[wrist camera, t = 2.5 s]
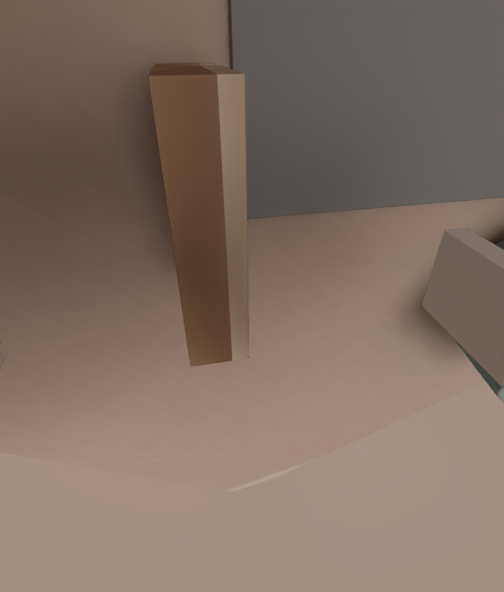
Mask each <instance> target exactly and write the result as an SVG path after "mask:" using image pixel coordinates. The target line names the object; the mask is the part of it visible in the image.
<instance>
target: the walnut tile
mask: <svg viewBox="0 0 504 592" xmlns="http://www.w3.org/2000/svg"><path fill="white" fill-rule="evenodd" d="M148 78H149V85H150V92H151V98H152V105H153V112H154V119H155V126H156V133H157V140H158V147H159V153H160V160H161V167H162V174H163V181H164V188H165V195H166V202H167V208H168V215H169V222H170V229H171V236H172V243H173V250H174V257H175V263H176V270H177V277H178V284H179V291H180V298H181V305H182V312H183V318H184V325H185V332H186V339H187V346H188V353H189V360H190V367H191V366H198V365H205V364H212V363H219V362H226V361H233V360H240V359H247V358H249V316H248V256H247V196H246V136H245V75H244V74H243V73H240V72H237V71H234V70H232V69H229V68H226V67H223V66H220V65H217V64H214V63H181V64H156V65H155V66H154V68H153V69H152V71H151V72H150V74H149V76H148Z"/></svg>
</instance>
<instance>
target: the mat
mask: <svg viewBox="0 0 504 592" xmlns="http://www.w3.org/2000/svg"><path fill="white" fill-rule="evenodd" d="M229 20H230V49H231V69H232V70H234V71H237V72H240V73H243V74H244V75H245V136H246V196H247V219H251V218H263V217H275V216H287V215H299V214H311V213H323V212H335V211H347V210H359V209H371V208H383V207H395V206H407V205H419V204H432V203H444V202H456V201H468V200H480V199H492V198H504V0H229Z"/></svg>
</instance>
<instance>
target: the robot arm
mask: <svg viewBox="0 0 504 592" xmlns="http://www.w3.org/2000/svg"><path fill="white" fill-rule="evenodd" d="M421 306H422V307H423V308H424V309H425V310H426V311H427V312H428V313H429V314H430V315H431V316H432V317H433V318H434V319H435V320H436V321H437V322H438V323H439V324H440V325H441V326H442V327H443V328H444V329H445V330H446V331H447V332H448V333H449V334H450V335H451V336H452V337H453V338H454V339H455V340H456V341H457V342H458V343H459V344H460V345H461V346H462V347H463V348H464V349H465V350H466V351H467V352H468V353H469V354H470V355H471V356H472V357H473V358H474V359H475V360H476V361H477V362H478V363H479V364H480V365H481V366H482V367H483V368H484V369H485V370H486V371H487V372H488V373H489V374H490V375H491V376H492V377H493V378H494V379H495V381H496V382H497V383H498V384H499V385H500V386H501V387H502V388H503V389H504V250H503V249H501V248H500V247H498V246H496V245H495V244H493V243H491V242H490V241H488V240H486V239H484V238H483V237H481V236H479V235H478V234H476V233H474V232H473V231H471V230H469V229H468V228H465V229H454V230H444V233H443V236H442V240H441V243H440V246H439V249H438V253H437V256H436V259H435V262H434V266H433V269H432V272H431V275H430V279H429V282H428V285H427V288H426V292H425V295H424V298H423V301H422V305H421ZM6 357H7V355H6V353H5V351H4V349H3V347H2V345H1V344H0V368H1V366H2V364H3V362H4V360H5V359H6Z"/></svg>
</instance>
